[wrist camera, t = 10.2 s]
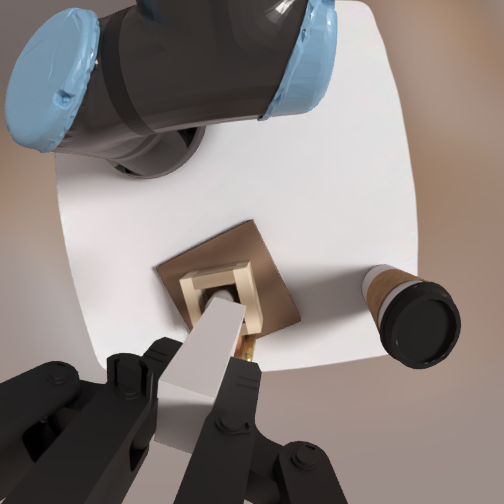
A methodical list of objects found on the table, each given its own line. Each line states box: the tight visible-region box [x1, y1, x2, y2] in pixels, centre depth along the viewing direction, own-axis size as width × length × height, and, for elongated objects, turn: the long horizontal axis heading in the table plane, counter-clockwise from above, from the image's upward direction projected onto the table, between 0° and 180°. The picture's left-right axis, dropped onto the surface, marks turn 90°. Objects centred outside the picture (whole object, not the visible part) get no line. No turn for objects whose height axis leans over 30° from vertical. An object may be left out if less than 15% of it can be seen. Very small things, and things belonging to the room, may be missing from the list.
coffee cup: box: [362, 264, 461, 369], centre depth 29 cm, size 8×8×15 cm
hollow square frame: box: [180, 260, 263, 359], centre depth 36 cm, size 13×8×4 cm, turn 13°
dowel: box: [242, 333, 257, 362], centre depth 35 cm, size 1×1×7 cm
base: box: [156, 219, 301, 341], centre depth 36 cm, size 14×14×6 cm
